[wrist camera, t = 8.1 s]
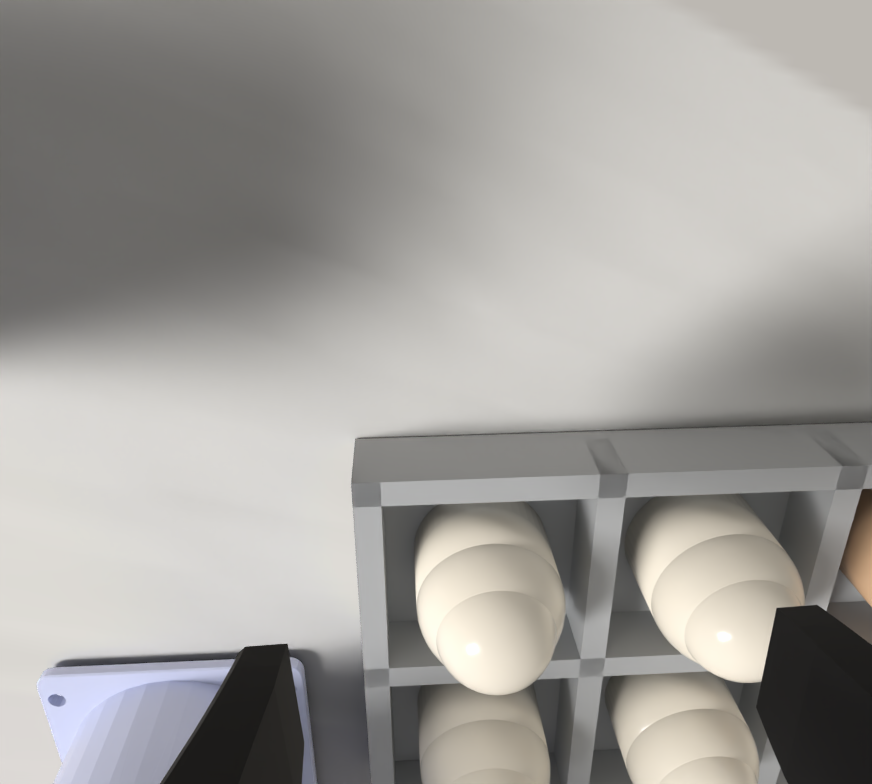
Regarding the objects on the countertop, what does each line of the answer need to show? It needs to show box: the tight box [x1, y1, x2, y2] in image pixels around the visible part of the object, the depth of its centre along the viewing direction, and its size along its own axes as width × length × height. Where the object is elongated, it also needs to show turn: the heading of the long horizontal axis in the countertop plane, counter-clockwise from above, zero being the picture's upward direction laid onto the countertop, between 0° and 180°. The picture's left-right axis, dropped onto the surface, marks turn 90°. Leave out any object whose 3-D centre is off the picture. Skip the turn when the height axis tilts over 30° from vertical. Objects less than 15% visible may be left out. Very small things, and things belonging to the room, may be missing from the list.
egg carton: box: [351, 422, 872, 784], centre depth 22 cm, size 13×19×2 cm
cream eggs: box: [414, 493, 805, 784], centre depth 20 cm, size 10×16×5 cm, turn 90°
